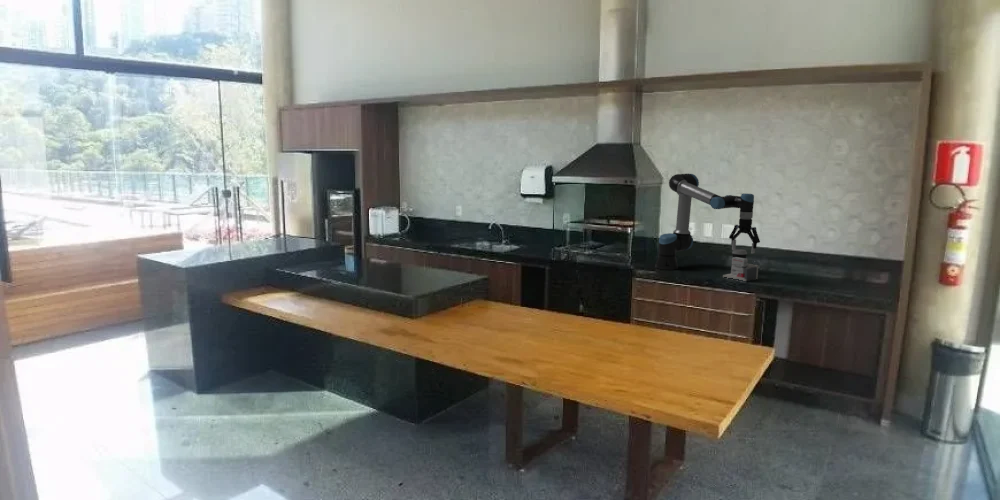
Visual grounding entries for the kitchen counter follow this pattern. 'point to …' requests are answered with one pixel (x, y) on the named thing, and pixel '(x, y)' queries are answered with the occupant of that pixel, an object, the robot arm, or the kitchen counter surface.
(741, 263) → the ink box
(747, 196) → the robot arm
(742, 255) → the coffee cup
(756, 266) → the shelf
